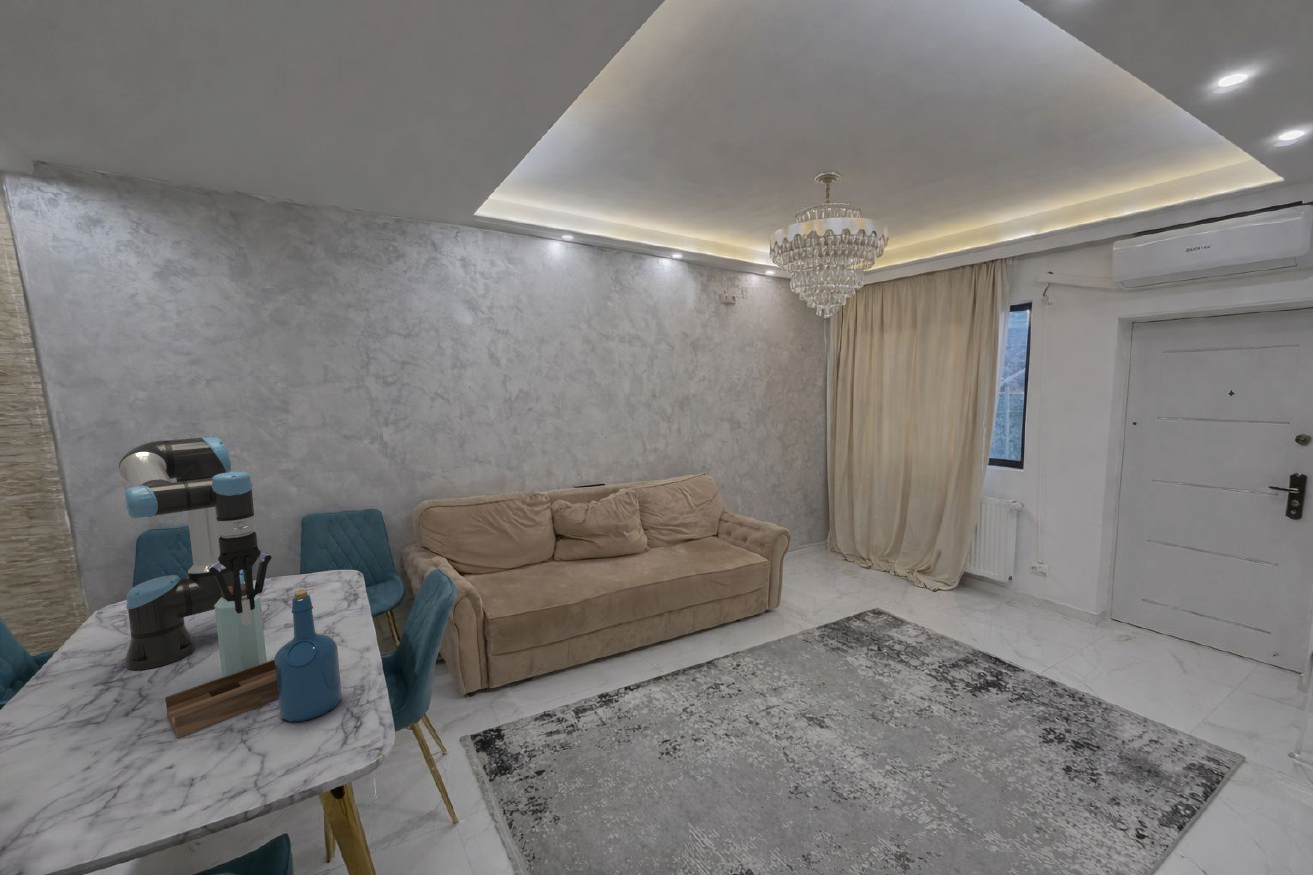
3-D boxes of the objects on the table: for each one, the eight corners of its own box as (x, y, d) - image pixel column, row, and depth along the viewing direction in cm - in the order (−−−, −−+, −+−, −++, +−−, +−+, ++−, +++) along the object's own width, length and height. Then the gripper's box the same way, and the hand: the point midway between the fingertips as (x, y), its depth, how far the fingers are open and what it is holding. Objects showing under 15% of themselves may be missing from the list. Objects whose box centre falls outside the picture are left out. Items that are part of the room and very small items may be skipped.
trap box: (167, 716, 130) (164, 693, 129) (307, 664, 152) (305, 645, 152) (177, 738, 121) (174, 713, 121) (323, 680, 144) (321, 659, 144)
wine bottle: (286, 699, 136) (275, 587, 133) (345, 686, 141) (336, 578, 138) (272, 731, 123) (259, 608, 120) (337, 716, 128) (327, 597, 125)
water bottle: (242, 685, 143) (233, 596, 140) (212, 681, 145) (202, 593, 142) (276, 665, 152) (267, 582, 150) (247, 662, 154) (239, 580, 152)
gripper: (207, 543, 126) (217, 637, 128) (272, 530, 136) (281, 618, 138) (200, 537, 130) (210, 628, 133) (264, 525, 140) (272, 610, 143)
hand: (246, 623), depth 136 cm, fingers closed
